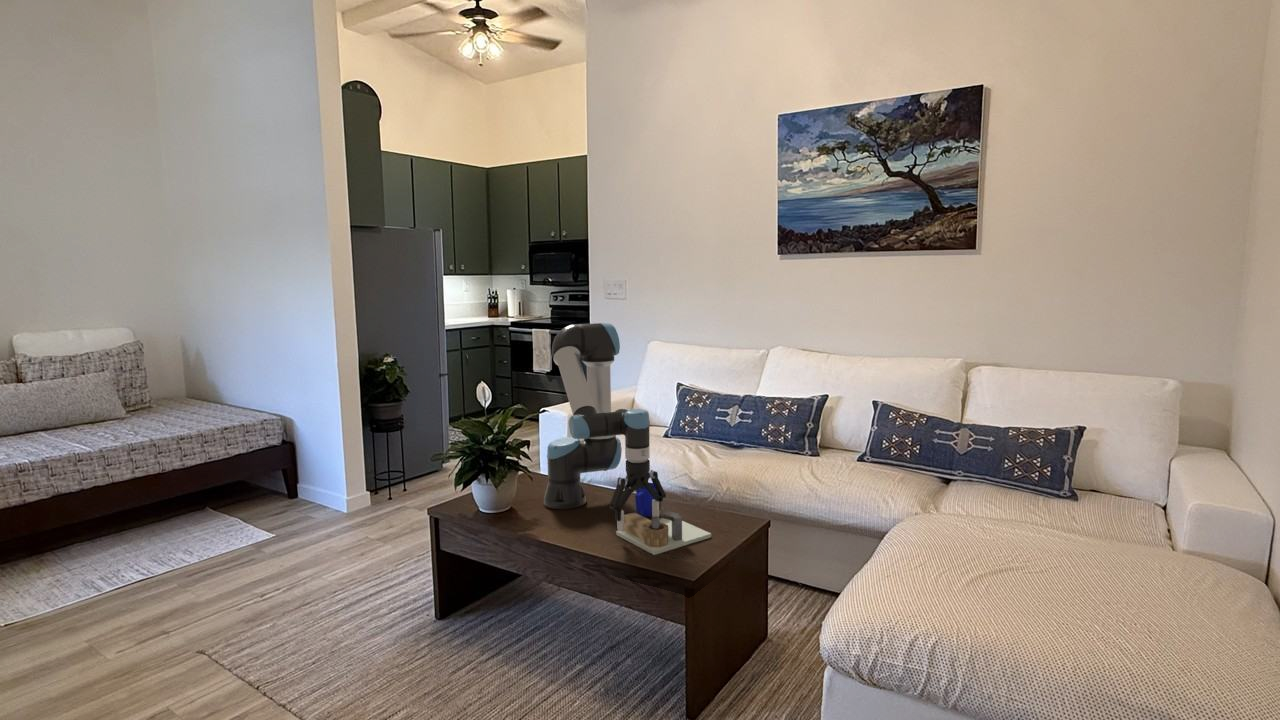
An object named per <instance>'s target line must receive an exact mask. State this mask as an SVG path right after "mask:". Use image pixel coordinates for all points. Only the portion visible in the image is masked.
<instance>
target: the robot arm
mask: <svg viewBox="0 0 1280 720" xmlns="http://www.w3.org/2000/svg"><path fill="white" fill-rule="evenodd" d="M620 350H621V344H620V336H619V333H618V331H617V328H616V327H615V326H614V325H613V324H612V323H605V322H604V323H603V322H597V323H581V324H580V323H579V324H577V323H575V324H574V323H573V324H569V325H567V326H565V327H563V328H562V329H560V331H559V332H557V334H556V336H555V337H554V339H553V342H552V346H551V355H552V359H553V362H554V364H555V365H557V366H558V369H559V372H560V376H561V379H562V382H563V383H562V384H563V386H564V390H565V393H566V396H567V399H568V403H569V406H570V409H571V413H572V415H571V416H570V417H569V419H568V427H569V434H570V436H567V437H566V436H565V437H560V438H557V439H554V440H552V441H551V442H549V443H548V446H547V455H546V458H547V480H548V481H547V486H546V488H545V493H544V496H543V505H544V506H545V507H546V508H549V509H553V510H572V509H577V508H579V507H582V506H583V505H585V504H586V501H587V499H586V494H585V490H584V488H583V485H582V481H581V474H586V473H592V472H594V473H595V472H601V471H602V472H606V471H609V470H614V469H616V468H618V466H619V464H620V462H621V459H622V452H623V451H622V450H623V449H622V442H621V440H620V438H618V437H617V436H624V437H625V438H624V440H625V441H624V442H625V443H624V444H625V447H624V449H625V452H624V453H625V455H624V456H625V472H626V476H625V477H623V478H622V477H620V476H619V477H617V482H616V483H617V484H616V487H615V490H614V493H613V495H612V497H611V500H610V503H609V506H608V507H609V509H611V510H612V511H614V520H616V527H617V528H616V529H617V531H619V530H620V531H622V532H623V531H624V515H625V510H624V509H623V508H624V506H625V505H626V503H627V501H628V500H629V499H630V496H631V495H632V494H633V493H634V492H635V491H636V490H638V489H643V488H644V487H645V488H646V489H647V491H648V492H649V493H650V494H651V495H652V496H653V498H654V499H655V500H652V516H651V518H652V517H654V516H658V517H660V511H661V509H662V506H661V505H662V502H663V500H664V499H665V498H666V497H667V495H666V492H665V490H664V488H663V485H662V483H661V481H660V479H659V475H658V472H657V471H656V470H652V469H651V463H650V460H649V459H650V455H651V454H650V423H651V422H650V414H649V411H647V410H646V409H642V408H641V409H640V408H631V409H626V408H619V409H617V410H615V411H612V396H611V395H612V391H611V390H612V389H611V364H613V362H615V356H618V354H620ZM580 358H581V359H582V360H581V359H580ZM580 360H581V361H580ZM581 362H582V363H583V364H584V365H585V367H586V375H585V373H584V372H585V371H584V370H583V366H582V363H581ZM649 480H651V481H652V482H649ZM650 483H653V484H654V486H655V489H656V491H657V492H656V491H655V490H654V489H653V487H652V486H651V484H650Z"/></svg>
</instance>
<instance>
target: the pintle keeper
mask: <svg viewBox="0 0 1280 720" xmlns="http://www.w3.org/2000/svg"><path fill="white" fill-rule="evenodd" d="M680 515H681V514H680V513H677V512H673V511H669V510H667V511H664V512H662V513H661V514H660V516H659V517H658V516H654V517H652V516H651V521H652V529H653V530H659V529H660V519H662V518H664V519H667V520H671V521H672V539H673V540H675V541H677V540H682V521H683V517H682V516H680Z"/></svg>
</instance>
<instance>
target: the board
mask: <svg viewBox="0 0 1280 720" xmlns="http://www.w3.org/2000/svg"><path fill="white" fill-rule="evenodd" d="M660 523H664V524H666V525H668V545H666V546H663V547H649V546H648V545H646V544H645V541H644V540H642V539H640V538H638V537H636V536H634V535H632V534H631V533H629V532H627V531H625V530H624V531H623V532H622V531H620V530H616V531H615V535H616V536H618V537H620V538H621V539H623V540H625V541H627V542H629V543H631V544H632V545H634V546H636V547H639V548H640V549H642V550H644V551H646V552H647V553H649V554H651V555H653V556H656V555H659V554H661V553H664V552H669V551H671V550H674V549H678V548H681V547H684V546H688V545H691V544H694V543H697V542H699V541H700V542H701V541H704V540H706V539H710V538H712V533H711V532H709V531H707V530H704V529H702V528H700V527H698V526H696V525H693V524H691V523H688V522H686V521H684V520H682V540H677V541H675V540H673V539H672V521H671V520H667V519H664V518H660Z"/></svg>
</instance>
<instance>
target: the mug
mask: <svg viewBox="0 0 1280 720" xmlns="http://www.w3.org/2000/svg"><path fill="white" fill-rule="evenodd" d="M649 483H650V484H651V486H652V487H653V489H654V490H655V491H656V489H655V486H654V484H653V482H649ZM635 491H636V492H635V495H634V496H635V499H634V500H635V507H636V508H635V509H636V514H638V515H641V516H643V517H645V518H647V517H648V518H651V517H652V500H655V499H654V498H653V496H652V495H651V494H650V493H649V492H648V491H647V489H646V488H645V487H644V488H643V489H638V490H635ZM656 492H657V491H656Z"/></svg>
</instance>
